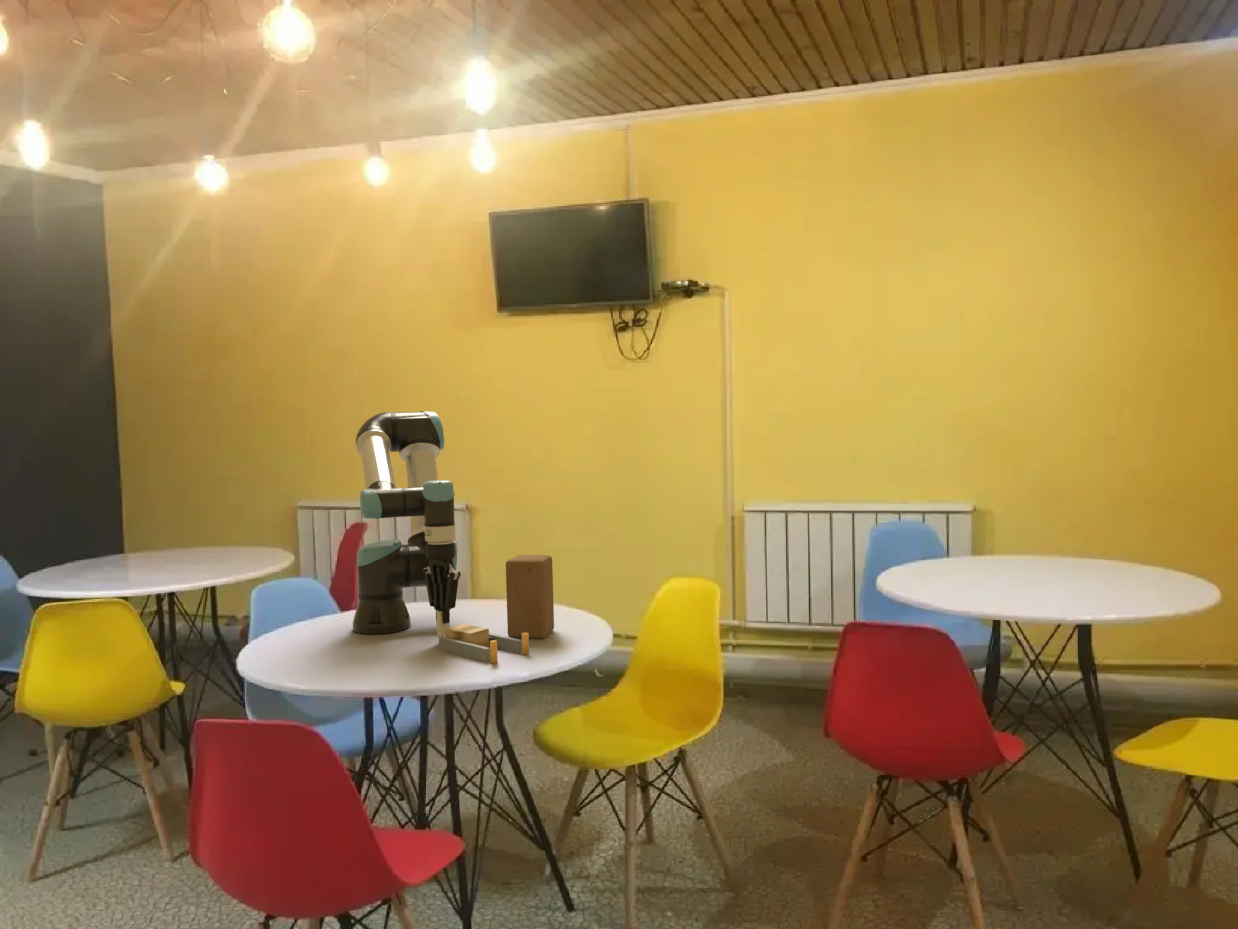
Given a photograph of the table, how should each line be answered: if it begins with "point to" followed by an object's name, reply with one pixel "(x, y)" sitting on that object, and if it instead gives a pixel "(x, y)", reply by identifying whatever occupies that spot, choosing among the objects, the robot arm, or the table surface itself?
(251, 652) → the table surface
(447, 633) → the oak block
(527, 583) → the wooden block
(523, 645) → the chute
